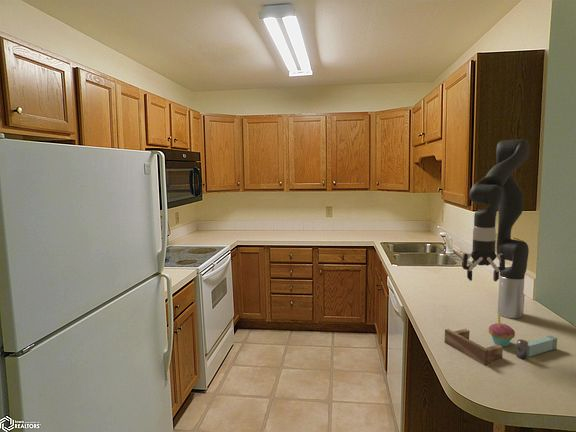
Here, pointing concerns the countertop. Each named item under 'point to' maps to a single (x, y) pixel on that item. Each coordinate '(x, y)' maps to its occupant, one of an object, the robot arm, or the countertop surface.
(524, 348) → the post
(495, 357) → the wooden u-shaped bracket
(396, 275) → the countertop surface
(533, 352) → the bar
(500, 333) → the cupcake
